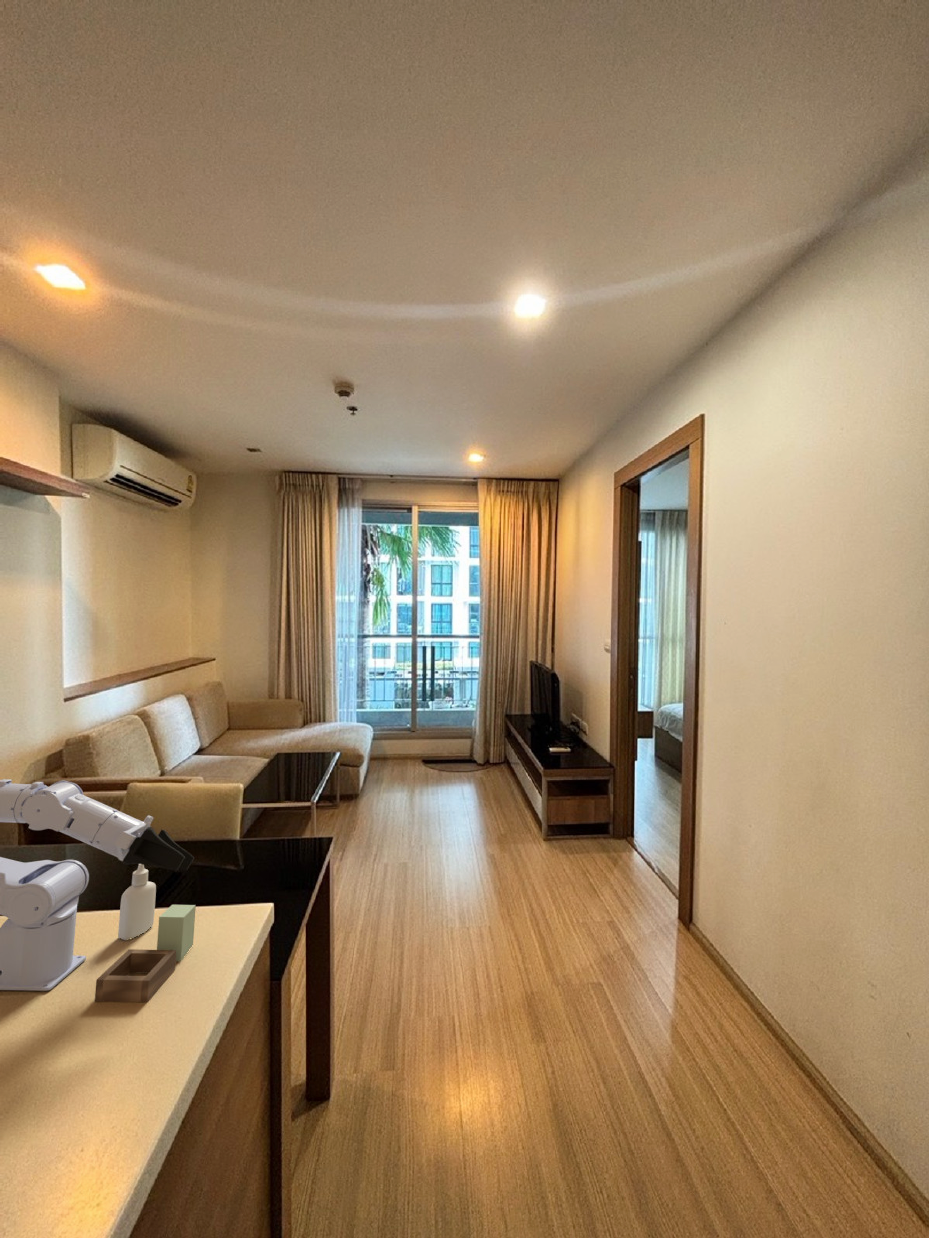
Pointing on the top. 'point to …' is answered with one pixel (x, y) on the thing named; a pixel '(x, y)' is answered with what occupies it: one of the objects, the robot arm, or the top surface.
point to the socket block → (135, 988)
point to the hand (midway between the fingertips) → (185, 863)
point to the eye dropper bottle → (137, 906)
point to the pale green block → (177, 929)
